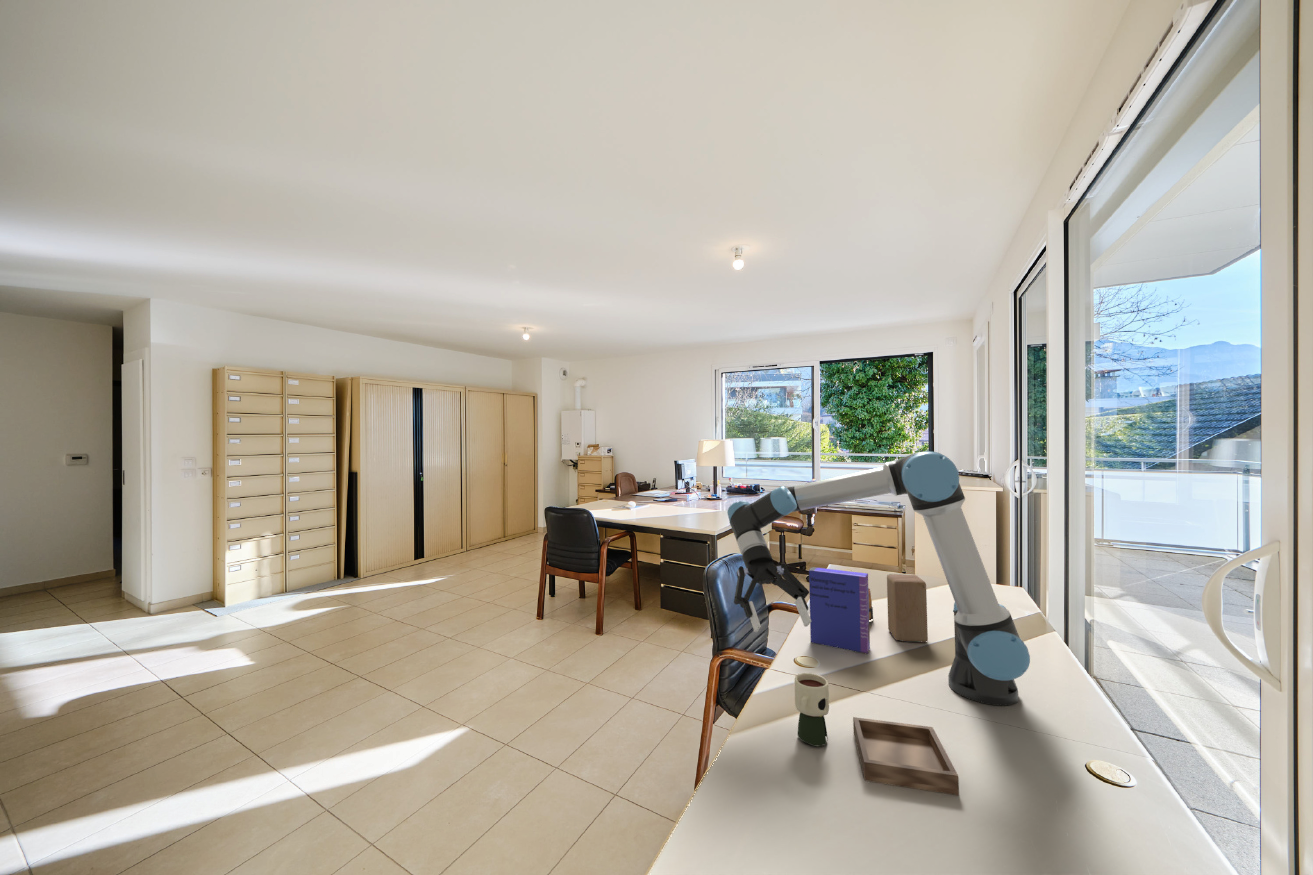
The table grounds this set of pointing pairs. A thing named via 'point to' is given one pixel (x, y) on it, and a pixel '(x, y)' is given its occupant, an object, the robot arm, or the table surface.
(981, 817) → the table surface
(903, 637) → the wooden block
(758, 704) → the table surface
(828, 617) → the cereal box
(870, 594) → the ammunition clip
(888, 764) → the walnut tray
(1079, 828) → the table surface
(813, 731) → the character mug
